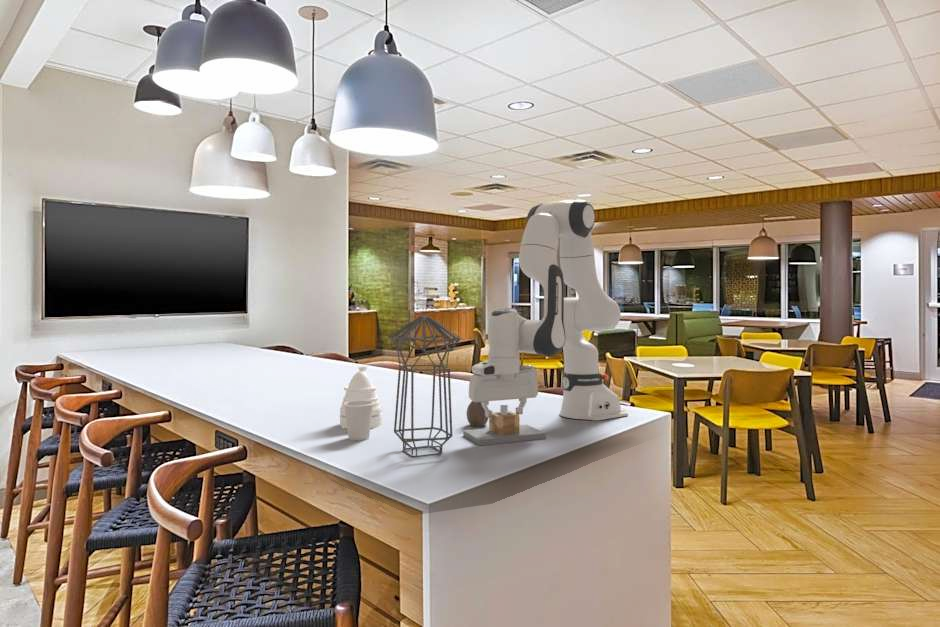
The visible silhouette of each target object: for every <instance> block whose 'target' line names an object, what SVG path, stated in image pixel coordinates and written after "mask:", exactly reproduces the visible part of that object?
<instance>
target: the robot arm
mask: <svg viewBox="0 0 940 627" xmlns="http://www.w3.org/2000/svg"><path fill="white" fill-rule="evenodd" d="M595 212H596V211H595V208H594V207H593V205H592V204H591V203H590V202H589V201H587V200H583V199H575V200H570V199H569V200H567V199H566V200H556V201H553V202H548V203H540V204H537V205H534V206H533V207H531V208H530V210H529V211H528V213H527V216H526V226H525V228H524V232H523V234H522V239H521V243H520V247H519V248H520V250H519V254H518V265H519V268H520V270H521V272H522V273H523V275H525V276H527V277H528V278H529V279H531V280H533V281H534V282H535V281H536V282H537V283H539V284H540V285H541V286H542V289H543V317H542V319H540V320H539V319H537V320H536V319H527V318H525V317H523V316H521V315H520V314H519V313H518V311H517V309H515V308H512V307H508V308H499V309H496V310H493V311H492V312H491V313H490V316H489V319H488V328H487V341H488V342H487V343H488V346H489V348H488V349H489V350H488V354H487V359H486V360H484V361H482V362H479V363H476V364H474V365H472V367H471V372H472V373H473V374H472V375H471V376H470V379H469V384H468V398H469V399H470V400H471V402H472V401H473V402H481V405H482V406H483V408H484V410H485V416H486V417H492V413H493V410H492V409H489V407H488V406H489V405H490V402H493V401H494V402H495V401H506V400H507V401H510V400H518V402H519V404H518V406H516V407H515V414H518V415H519V416H520V415H523V414H524V408H525V406H526V404H527V402H528V401H527V399H532V398H537V396H538V394H539V385H538V379H537V377H538V370H537V368H536V367H535V366H533V365H532V364H529V365H528V364H527V365H524V364H523V365H522V364H521V365H520V360H521V359H520V353H523V354H524V353H525V354H532V355H539V356H544V357H548V358H552V357H554V356H557V354H558V353H559V352H561V351H562V349H563V363H564V364H563V365H564V371H563V373H562V387H563V393H562V394H563V396H562V402H561V407H560V410H559V416H560V417H564V418H568V419H573V420H574V419H575V420H588V421H602V420H607V419H608V420H609V419H615V418H620V417H627V416H629V414H628V411H627V410H626V409H625V410H624V409H622V408H621V407H622V406H621V400H620V397H619V396H618V394H617V393H615V392H614V391H612V390H611V389H610V388H609V387H607V385H605V384H604V382H603V381H609V379H610V375H608V374H606V373H603V374H601V373H600V372H599V350H598V349H597V347H596V346H595V345H594V344H593V343H591V342H590V341H587V340H586V338H585V336H584V334H583V332H585V331H587V332H605V331H608V330H613V329H615V328H616V327H617V325H618V324H619V323H620V320H621V315H622V314H621V308H620V306H619V304H618V303H617V301H616V300H614V299H613V298H612V297H610V296H609V295H608V294H607V293H606V292H605V291H604V289H603V288H602V286H601V284H600V282H599V280H598V274H597V269H596V259H595V247H594V241H593V237H592V229H593V228H594V226H595V222H596V213H595ZM558 250H559V262H560V263H559V265H560V266H559V265H558ZM564 284H565V285H566V286H567V287H570V288H572V289H573V290H574V291H575V292H576V294H577V295H578V297H564V296H565V285H564Z"/></svg>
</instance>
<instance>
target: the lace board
mask: <svg viewBox="0 0 940 627" xmlns="http://www.w3.org/2000/svg"><path fill="white" fill-rule="evenodd" d="M508 408H509V406H508V404H500V410H499V412H500V416H503V415H508V411H509V410H508ZM546 433H547V432H545V431H543V430H541V429H540V430H539V429H538V428H535V427H532V426H530V425H528V424H526V423H525V424H519V433H515V434H505V435H497V434H495V433H493V432H491V431H490V430H489V427H487V428H477V429H464V430H463V433H462V434H463V436H464V437H465V438H467V439H468V440H470V441H471V442H473V443H475V444H476V445H478V446H486V445H498V444H506V443H515V442H525V441H534V440H544V439H546V438H547V434H546Z"/></svg>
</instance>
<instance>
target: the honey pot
mask: <svg viewBox="0 0 940 627" xmlns="http://www.w3.org/2000/svg"><path fill="white" fill-rule="evenodd" d="M367 369H368V366H366V365H359V366H358V371H357V372H356V373H355V374H354V375H353V376H352V378H351V380H350V382H349V383H348V385H346V386H344V387H343V390H344V391H345V393H344V396H343V398H342V399H343V400H342V402H341V406H340V409H339V426H341V427H340V428H342V427H344V428H343V429H345V428H347V422H346V414H345V407H344V405H343V404H344V403H345V402H348V401H355V400H367V401H372V402H373V403H374V404H373V407H372V417H371V426H370V430H371V429H375V428H379V427H381V426H382V425H383V413H382V412H383V411H382V410H383V409H382V406H381V404H380V403H381V401H380V400H379V396H378V394H377V391H376V390H377V388H378V387H377V386H376V385H374V384H373V382H372V380H371V379H370V377H369V375H368V374H367V373H366V371H367Z"/></svg>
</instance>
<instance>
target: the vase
mask: <svg viewBox="0 0 940 627" xmlns="http://www.w3.org/2000/svg"><path fill="white" fill-rule="evenodd" d="M466 419H467V421H468V423H469V424H470V426H472V427H478V428H479V427H484V426H485V425H486V424H487V423H488V422H489V417H486V416H485V410H484V408H483V406H482V405H481V402H473V401H472V400H471V401H470V403H469V404H468V405H467V409H466Z"/></svg>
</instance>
